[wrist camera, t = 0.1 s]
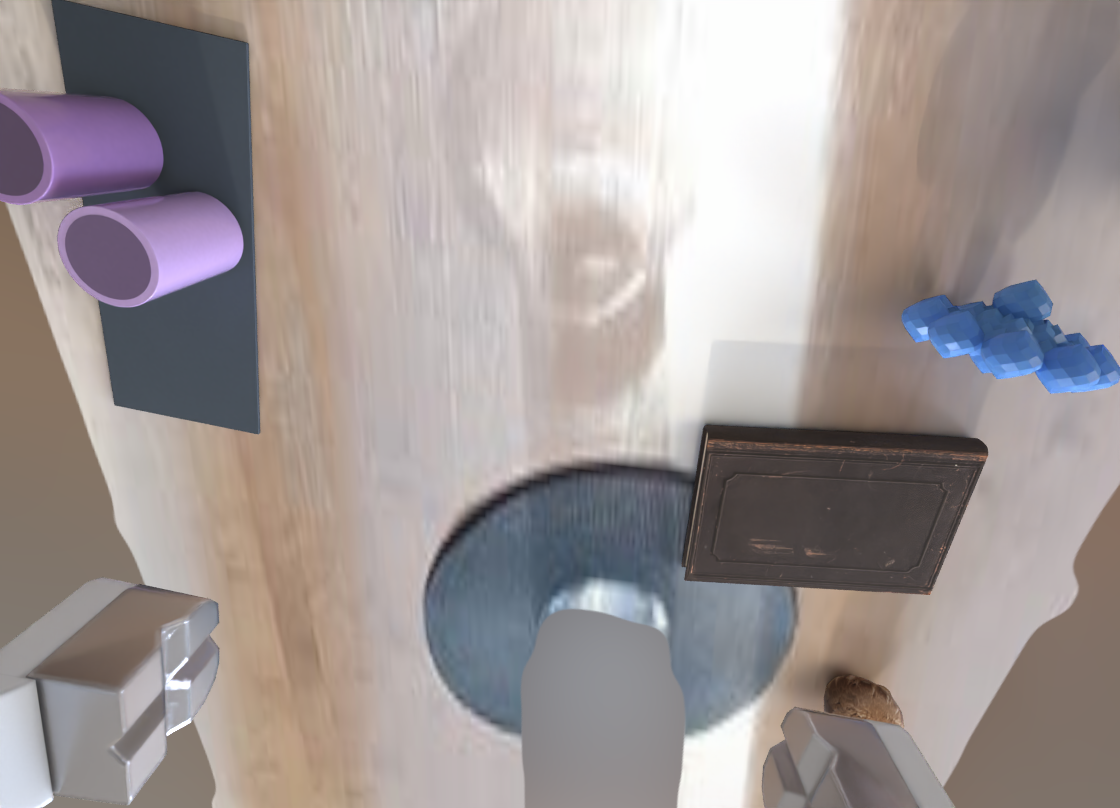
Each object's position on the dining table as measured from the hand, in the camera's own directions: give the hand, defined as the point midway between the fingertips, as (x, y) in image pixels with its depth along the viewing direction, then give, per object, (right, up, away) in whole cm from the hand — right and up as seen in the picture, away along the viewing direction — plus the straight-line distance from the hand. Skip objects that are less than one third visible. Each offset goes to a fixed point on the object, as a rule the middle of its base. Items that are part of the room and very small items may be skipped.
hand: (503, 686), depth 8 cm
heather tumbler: (-31, +23, +33) cm, 51 cm away
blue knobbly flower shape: (+32, +12, +36) cm, 49 cm away
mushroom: (+33, -27, +55) cm, 69 cm away
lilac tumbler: (-27, +17, +36) cm, 48 cm away
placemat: (-30, +16, +37) cm, 50 cm away
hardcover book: (+25, -5, +44) cm, 51 cm away
